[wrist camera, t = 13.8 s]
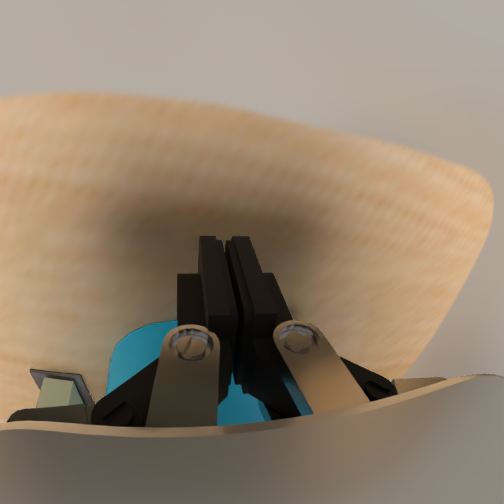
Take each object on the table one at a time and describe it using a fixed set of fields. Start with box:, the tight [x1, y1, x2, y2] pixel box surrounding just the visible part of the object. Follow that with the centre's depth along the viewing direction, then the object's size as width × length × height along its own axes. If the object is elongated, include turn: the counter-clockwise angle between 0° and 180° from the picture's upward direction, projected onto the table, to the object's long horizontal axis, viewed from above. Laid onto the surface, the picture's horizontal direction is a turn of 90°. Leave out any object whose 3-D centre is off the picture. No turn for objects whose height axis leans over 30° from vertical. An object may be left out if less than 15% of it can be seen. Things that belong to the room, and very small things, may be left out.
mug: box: [106, 320, 265, 426], centre depth 13 cm, size 12×8×8 cm
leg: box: [36, 377, 83, 408], centre depth 16 cm, size 12×2×4 cm, turn 172°
